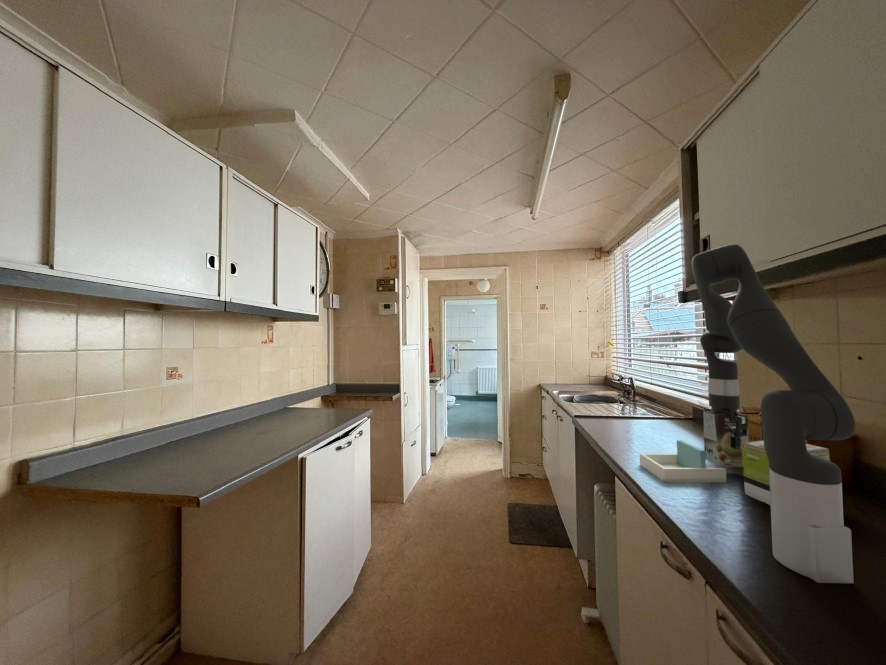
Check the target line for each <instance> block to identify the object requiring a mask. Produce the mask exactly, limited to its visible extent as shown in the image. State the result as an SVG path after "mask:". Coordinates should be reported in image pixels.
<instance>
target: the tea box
mask: <svg viewBox="0 0 886 665" xmlns="http://www.w3.org/2000/svg"><path fill="white" fill-rule="evenodd" d="M806 448H807V451H808V453H809V454H811V455H814V456H817V457H820V458H823V459H826V460H828V461H831V458H830V449H829V448H827V447H823V446H818V445H813V444H808V443H806ZM742 455H743V467H742V468H743V482H744V483H743V485H744V486H743V487H744V493H745V495H746V496H747V497H751V498H753V499H756V500H757V501H759V502H762V503H764V502H765V503H764V504H767V505H769V506H771V502H770V477H769V461H768V458H767V455H766V452H765V448H764V439H762V440H761V439H760V440H755V441H749V442H742Z"/></svg>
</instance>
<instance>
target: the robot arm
mask: <svg viewBox="0 0 886 665" xmlns="http://www.w3.org/2000/svg"><path fill="white" fill-rule="evenodd" d="M691 270H692V276H693V278H694V282H695V285H696V289H697V292H698V296H699V299H700V301H701V305H702V308H703V313H704V321H705V322H704V323H705V328H706V331H704V332H703V333H702V334H701V336H700V339H699V342H700V346H701V348H702V350H703V352H704V355H705V358H706V361H707V368H708V384H707V386H708V387H707V388H708V389H707V390H708V393H707V394H708V405H709V408H708V407H707V408H704V410H703V411H716V412H720V413H724V414H727V415H729V420H730V421H731V422H732V421H733V419H734V418H735V422H736V426H730V425H728V429H729V430H730V435H731V448H733V449H740V447H741V437H744V436H747V429H748V430H749V417H748V418H747V417H741V416H738V413H739V412H738V410H740V409H741V399H740V396H741V395H740V385H739V379H738V378H739V374H738V364H737V362H736V361H734V360H729V359H723V358H719V357H718V356H717V355H716V353H724V354H726V353H727V354H728V353H729V354H733V353H738V352H740V351H742V350H743V351H744V352H745V353H747V354H748V355H749V356H751V357H752V358H754V359H755V360H757V361H758V362H760V364H763V365H764V366H766V368H768V369H770V370H772V371H773V372H774V373H775V374H777V375H778V376H779V377H780V378H781V379H782V380H783V381H784V382H785V384H786V385H787V386H788V388H789V389H790V390H789V389H778V390H777V389H776V390H771V391H768V392H766V393H765V394H764V396H763V397H762V399H761V402H760V419H761V427H762V438H763V439H762V440H764V448H765V452H766V455H767V458H768V461H769V477H770V502H771V505H770V519H771V520H770V523H771V542H772V556H773V557H774V558H775V560H776V561H777V562H779V563H780V564H781V565H783V566H784V567H786V568H788V569H789V570H791V571H793V572H795V573H797V574H799V575H802V576H805V577H806V578H807V577H808V578H809V579H811V580H813V581H815V582H816V583H818V584H854V583H855V582H854V566H853V565H854V563H853V546H852V545H853V544H852V543H853V542H852V541H853V540H852V529H850V528H849V527H847V526H845V524H844V506H843V505H844V504H843V501H844V500H843V483H842V482H843V481H842V479H843V478H842V471H841V468H840V467H839V465H837V463H834V462H832V461H831V460H830V461H828V460H826V459H823V458H820V457H817V456H814V455H811V454H809V453H808V451H807V448H806V444H807V443H806V440H807V441H808V440H809V441H845V440H847V439H849V438H851V437H852V436H853V435H854V433H855V430H856V421H855V417H854V414H853V412H852V410H851V408H850V406H849V404H848V403H847V402H846V400H845V399H844V397H843V396H842V395H841V393H840V392H839V391H838V390H837V388H836V387H835V386H834V385H833V384H832V382H831V381H830V380H829V379H828V378H827V377H826V376H825V374H824V373H823V372H822V371H821V370H820V369H819V367H818V366H817V364H816V363H815V362H814V360H812V358H811V357H810V355H809V354H808V352H807V351H806V350H805V348H804V347H803V345H802V344H801V342H800V341H799V339H798V338H797V336H796V334H795V332H793V330H792V328H791V326H790V324H789V323H788V321H787V320H786V318H785V316H784V314H782V312H781V310H780V309H779V308H778V307H777V305H776V304H775V302H774V300H773V299H772V298H771V296H770V294H769V293H768V292H767V289H765V286H764V285H763V284H762V282H761V280H760V278H759V276H758V274H757V272H756V270H755V268H754V265H753V264H752V262H751V260H750V258H749V256H748V254H747V252H746V251H745V249H744V248H743V247H742V246H740V245H739V244H737V243H731V244H727V245H723V246H720V247H716V248H712V249H709V250H706V251H703V252H700V253H697V254H695V255H694V256H693V257H692V260H691ZM732 280H737V282H738V284H739V285H738V289H737V293H736V295H735V298H734V300H733V302H732V303H731V301H730V300H728V299H726V298H725V297H724V296H723V295H721V294H720V293H718V292H716V291H715V290H714V289H713V287H712V285H716V284H720V283H724V282H728V281H732ZM733 429H736V433H734V431H733ZM741 429H742V432H741Z"/></svg>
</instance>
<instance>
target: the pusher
mask: <svg viewBox="0 0 886 665" xmlns="http://www.w3.org/2000/svg"><path fill="white" fill-rule="evenodd" d="M676 454H677V461H678V464H680V465H682V466H684V467H686V468H706V464H707V462H706V461H707V460H706V457H705V450H704V449H702V448H700V447H697V446H696V445H693V444H691V443H689V442H686V441H684V440H682V439H677V440H676Z"/></svg>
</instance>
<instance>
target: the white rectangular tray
mask: <svg viewBox="0 0 886 665" xmlns="http://www.w3.org/2000/svg"><path fill="white" fill-rule="evenodd" d="M640 465H641V466H640ZM639 466H640V467H641V468H643V467H644V468H643V469H644V470H646V469H647V470H649V471H650V472H651V473H650V472H649V471H648V472H649V473H650V474H652V473H653V474H654V475H653V474H652V475H653V476H655V475H656V476H657V477H656V476H655V477H656V478H658V479H659V478H660V479H659V480H661V481H662V482H663V481H664V483H727V468H725V467H713V466H710V465H709V464H707V463H706V468H686V467H684V466H682V465H680V464H678V461H677V453H639ZM647 470H646V471H647Z"/></svg>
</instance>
